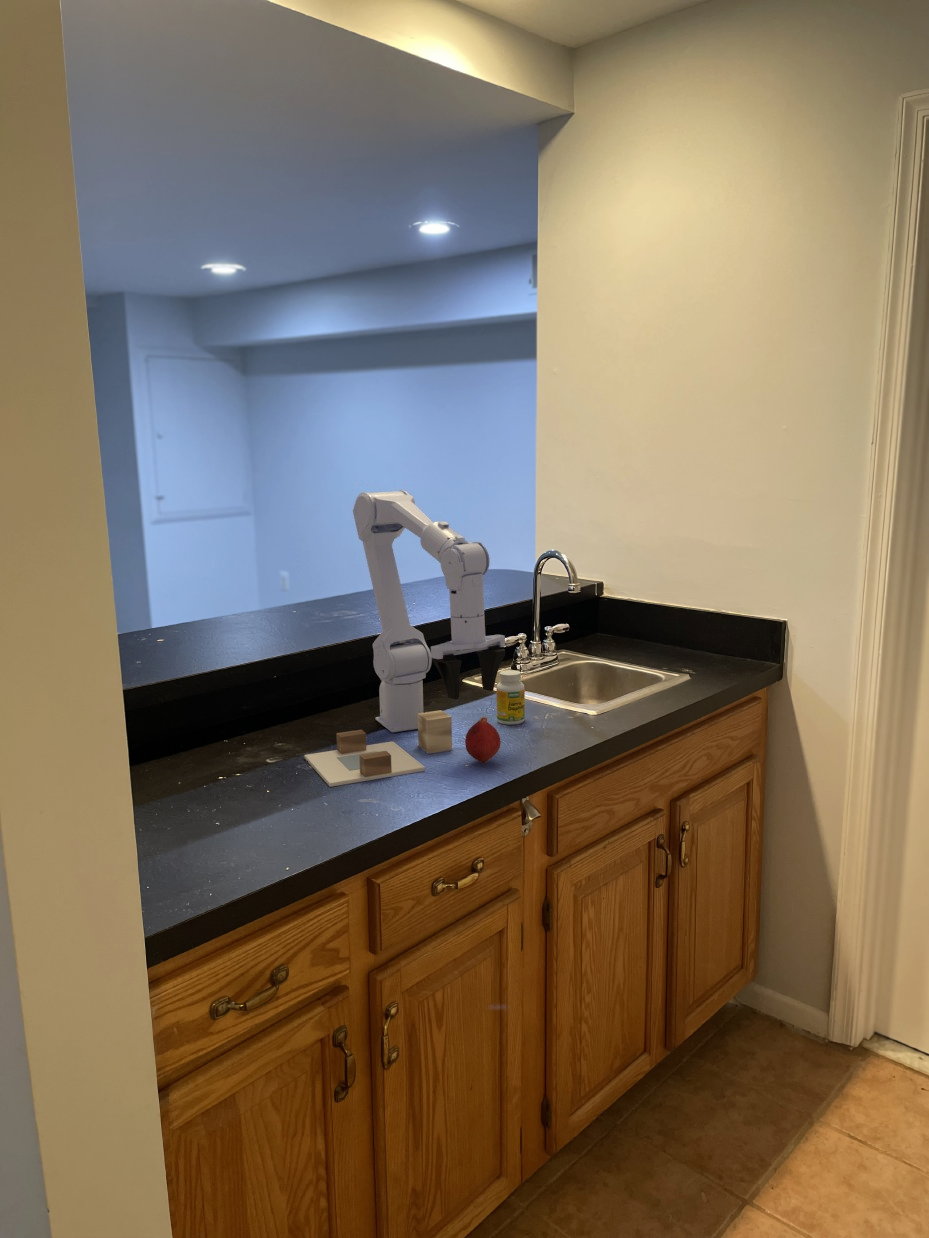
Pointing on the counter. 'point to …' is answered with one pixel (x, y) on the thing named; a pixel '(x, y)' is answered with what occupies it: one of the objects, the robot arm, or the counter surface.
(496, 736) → the onion
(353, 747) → the walnut blocks
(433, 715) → the maple block
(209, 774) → the counter surface
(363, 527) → the robot arm
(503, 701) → the supplement bottle
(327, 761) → the board
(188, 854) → the counter surface
